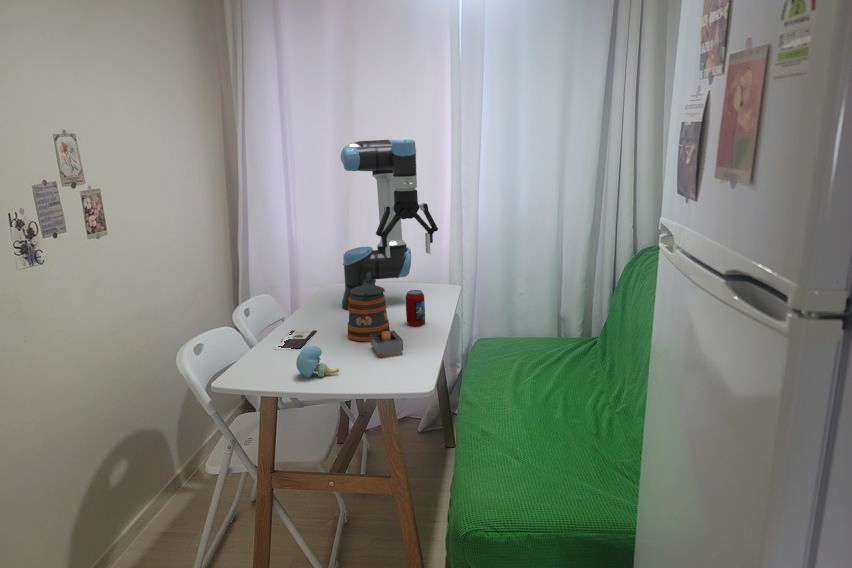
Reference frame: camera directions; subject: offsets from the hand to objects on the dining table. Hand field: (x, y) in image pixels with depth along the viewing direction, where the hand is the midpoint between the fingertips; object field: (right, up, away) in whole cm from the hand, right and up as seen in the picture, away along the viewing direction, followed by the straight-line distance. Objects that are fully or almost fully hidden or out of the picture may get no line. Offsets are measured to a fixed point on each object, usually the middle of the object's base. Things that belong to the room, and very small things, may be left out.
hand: (408, 255), depth 199 cm
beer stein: (-14, -27, +13) cm, 33 cm away
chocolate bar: (-38, -29, +8) cm, 49 cm away
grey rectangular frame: (-7, -30, -6) cm, 31 cm away
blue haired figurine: (-25, -36, -23) cm, 49 cm away
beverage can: (+2, -24, +21) cm, 32 cm away
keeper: (-7, -31, -6) cm, 32 cm away
